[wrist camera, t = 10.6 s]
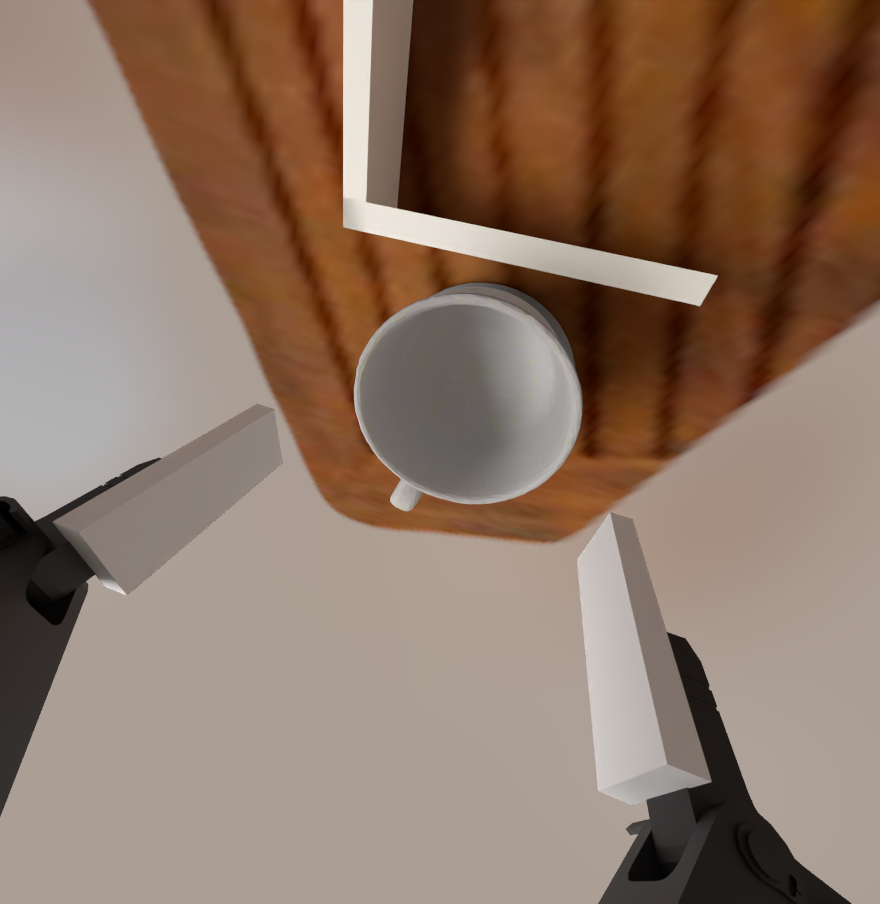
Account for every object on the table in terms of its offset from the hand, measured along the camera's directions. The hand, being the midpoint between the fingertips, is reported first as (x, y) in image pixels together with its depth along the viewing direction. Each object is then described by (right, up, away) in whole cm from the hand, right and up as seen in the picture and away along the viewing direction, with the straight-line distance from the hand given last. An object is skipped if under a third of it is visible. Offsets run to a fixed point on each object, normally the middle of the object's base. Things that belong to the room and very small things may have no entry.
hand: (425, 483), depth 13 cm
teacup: (+3, +6, +10) cm, 12 cm away
